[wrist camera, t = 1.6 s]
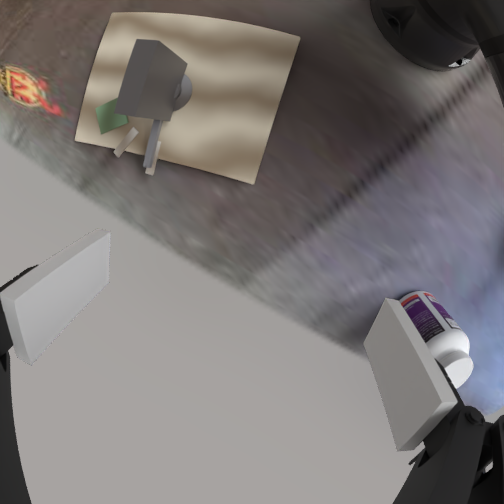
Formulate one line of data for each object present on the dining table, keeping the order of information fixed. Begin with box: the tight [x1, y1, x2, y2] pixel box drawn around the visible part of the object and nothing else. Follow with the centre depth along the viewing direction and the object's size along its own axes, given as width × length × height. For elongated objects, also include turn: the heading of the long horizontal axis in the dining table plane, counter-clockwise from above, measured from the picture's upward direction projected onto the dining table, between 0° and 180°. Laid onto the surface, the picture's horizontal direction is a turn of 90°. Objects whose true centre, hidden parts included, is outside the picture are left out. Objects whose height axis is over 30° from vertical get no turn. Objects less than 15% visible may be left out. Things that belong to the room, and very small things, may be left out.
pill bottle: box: [399, 291, 473, 389], centre depth 32 cm, size 8×8×14 cm
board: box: [75, 12, 301, 185], centre depth 29 cm, size 20×24×2 cm
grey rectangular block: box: [114, 39, 188, 168], centre depth 25 cm, size 3×12×9 cm, turn 164°
